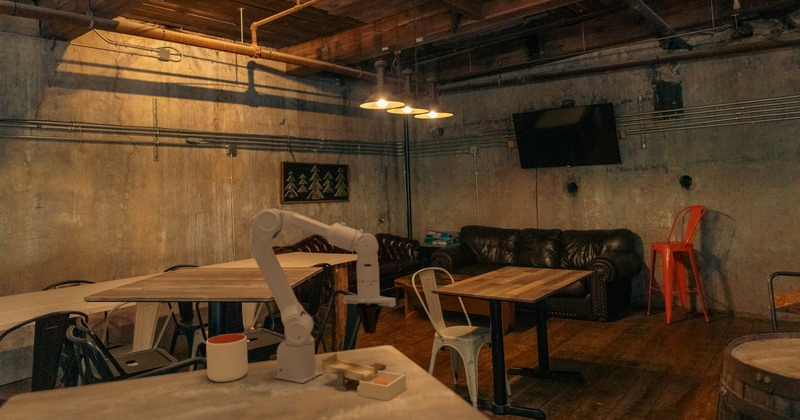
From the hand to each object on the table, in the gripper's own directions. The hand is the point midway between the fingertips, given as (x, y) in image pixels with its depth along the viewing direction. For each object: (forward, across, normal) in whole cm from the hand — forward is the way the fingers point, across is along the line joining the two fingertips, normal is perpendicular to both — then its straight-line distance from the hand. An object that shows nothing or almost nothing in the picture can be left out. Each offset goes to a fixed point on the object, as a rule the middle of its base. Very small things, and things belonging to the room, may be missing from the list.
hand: (370, 332), depth 131 cm
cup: (+11, -34, -16) cm, 39 cm away
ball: (+9, +8, -11) cm, 16 cm away
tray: (+10, +9, -11) cm, 17 cm away
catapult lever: (+7, 0, -8) cm, 11 cm away
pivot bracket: (+10, -1, -10) cm, 14 cm away
